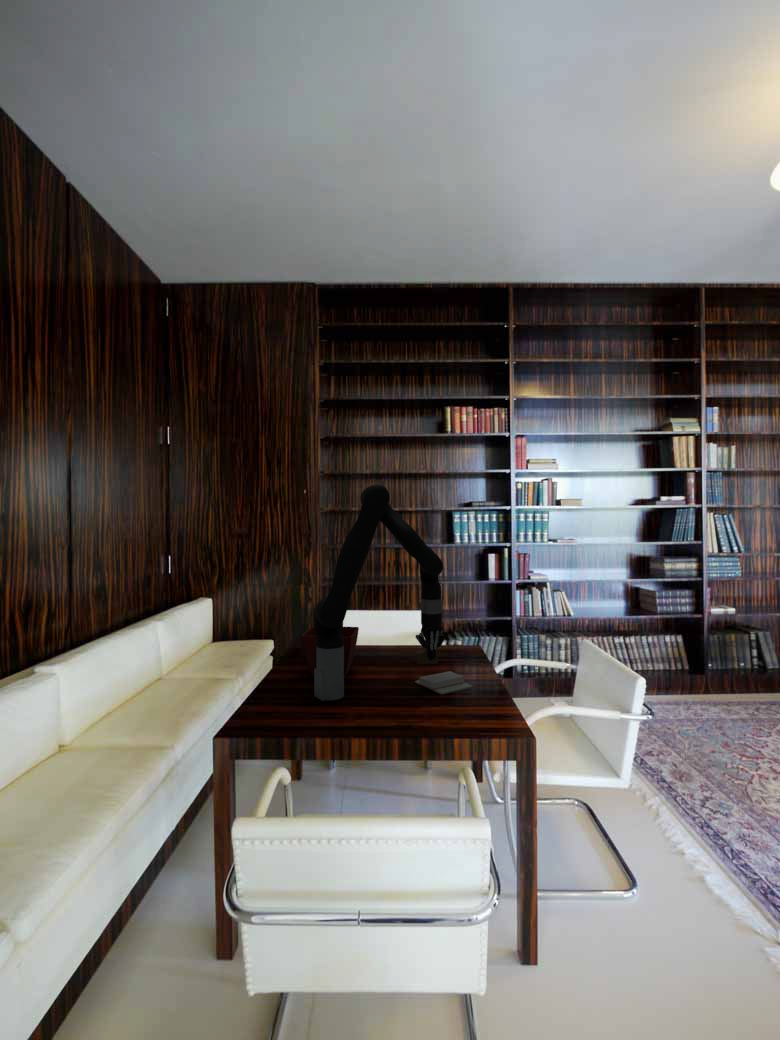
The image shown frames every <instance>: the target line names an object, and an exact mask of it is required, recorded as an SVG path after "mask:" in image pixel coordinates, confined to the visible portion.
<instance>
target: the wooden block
mask: <svg viewBox="0 0 780 1040" xmlns="http://www.w3.org/2000/svg"><path fill="white" fill-rule="evenodd" d="M438 650H439V647H438V648H437V649H436V658H435V660H429V659H428V658H427V649H426V648H422V650H416V651H415V658H414V659H415V660H414V661H415V664H416V665H417V666H418V665H422V666H423V665H424V664H425V665H438V664H439V661H438V660H439V656H438V654H439V651H438Z"/></svg>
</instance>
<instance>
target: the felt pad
mask: <svg viewBox="0 0 780 1040" xmlns="http://www.w3.org/2000/svg"><path fill="white" fill-rule="evenodd" d="M414 683H416V684H417V685H419V686H421V685H420V684H419V679H417V680H415V681H414ZM423 687H424V688H426V689H429V688H427V687H425V686H423ZM473 688H474V686H473V685H471V684H469V683H466V682H464V683H463V684H459V685H454V686H449V687H445V688H440V689H436V690H431V689H429V690H431V691H433V692H435V693H438V694H440V695H441V696H442V695H446V694H447V695H448V694H450V693H454V692H459V691H464V690H467V689H468V690H469V689H473Z"/></svg>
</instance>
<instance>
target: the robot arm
mask: <svg viewBox="0 0 780 1040" xmlns="http://www.w3.org/2000/svg"><path fill="white" fill-rule="evenodd" d="M390 499H391V497H390V492H389V491H388V489H387V487H385V485H382V484H372V485H370V486H368V487H365V489H363V490H362V492H361V494H360V503H361V508H360V510H359V513H358V517H357V519H356V521H355V523H354V524H353V526H352V527H351V529H350V531H348V534H347V536H346V538H345V540H344V541H343V544H342V546H341V549H340V551H339V553H338V556H337V559H336V562H335V563H336V564H335V570H334V575H333V581H332V584H331V587H330V590H329V592H328V594H327V596H326V597H325V598H322V599H321V600H319V601H318V602H317V604H316V606H315V608H314V626H315V636H316V646H317V668H315V669H314V677H313V678H314V679H313V681H314V683H313V684H314V685H313V686H314V697H315V698H317V699H318V700H319V701H321V702H324V701H337V700H339V699H340V700H341V699H342V698H344V696H345V681H344V680H345V678H344V639H343V635H342V627H343V626H342V623H343V621H344V620H345V617H346V615H347V611H348V607H349V603H350V600H351V596H352V593H353V591H354V588H355V586H356V584H357V582H358V579H359V578H360V575H361V572H362V569H363V568H364V565H365V563H366V560H367V557H368V555H369V552H370V549H371V546H372V544H373V540H374V537H375V534H376V531H377V529H378V526H379V523H382V525H383V526H384V527H385V528H386V529H387V530H388V531H389V533H391V535H392V536H393V537H394V538H395V540H397V542H398V543H399V545H400V546H401V547H402V548H403V549H404V550H405V551H406V553H407V554H408V555H409V556H410V557H412V558H413V559H415V561H416V562H418V564H419V575H420V582H421V602H420V624H421V629H420V632H419V634H416V635H415V639H416V640H417V641H418V643H419V644H420V646H421V647H422V649H424V648H426V649H427V658H428V659H429V660H435V658H436V649H437V648H438V649H439V648H440V647H442V645H443V643H444V640H445V639H446V637H447V636H448V632H446V631H444V630H443V627H442V624H443V603H442V585H441V583H440V581H439V575H440V574H441V573H442V572H443V569H444V563H443V561H442V559H441V557H439V556H438V554H437V553H435V551H434V550H433V549H431V547H430V546H428V545H427V543H426V542H425V541H424V539H422V538H421V536H420V535H419V534H418V533H417V531H416V530H415V529H414V528H413V527H412V526H411V525H410V524H409V523H408V522H406V521H405V520H404V519H403V518H402V517H401V516H400V515H398V513H397V512H396V511H395V510H394V509H393V508H392V505H390Z"/></svg>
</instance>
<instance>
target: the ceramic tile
mask: <svg viewBox="0 0 780 1040" xmlns="http://www.w3.org/2000/svg"><path fill="white" fill-rule="evenodd" d="M418 680H419V684H420V685H419V684H418V685H419V686H422V687H424V686H425V687H424V688H426V687H427V688H426V689H428V688H429V690H430V689H431V691H433V690H436V689H440V688H445V687H449V686H454V685H459V684H463V683H465V676H463V675H461V674H458V673H456V672H454V671H450V670H449V671H448V670H447V671H444V672H440V673H434V674H430V675H429V674H428V675H424V676H419V677H418Z"/></svg>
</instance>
